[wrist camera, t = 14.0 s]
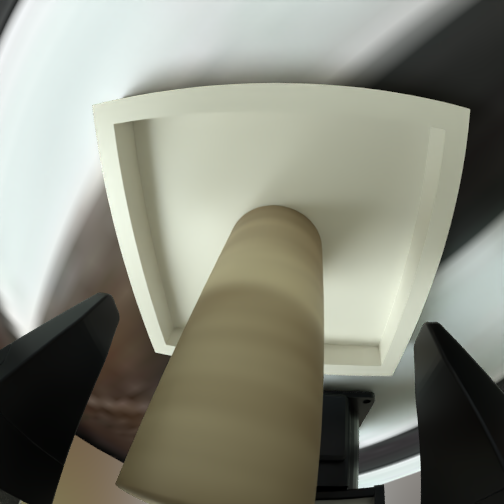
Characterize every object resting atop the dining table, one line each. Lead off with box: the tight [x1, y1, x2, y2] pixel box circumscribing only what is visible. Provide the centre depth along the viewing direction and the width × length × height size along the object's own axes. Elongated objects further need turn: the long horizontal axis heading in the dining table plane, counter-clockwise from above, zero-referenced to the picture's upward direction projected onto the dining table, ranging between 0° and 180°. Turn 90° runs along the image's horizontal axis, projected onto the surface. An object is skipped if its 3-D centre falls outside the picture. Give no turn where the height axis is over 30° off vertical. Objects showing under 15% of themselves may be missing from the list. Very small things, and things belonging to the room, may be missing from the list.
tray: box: [92, 83, 470, 376], centre depth 11 cm, size 12×12×2 cm
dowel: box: [116, 205, 324, 504], centre depth 7 cm, size 3×3×9 cm
